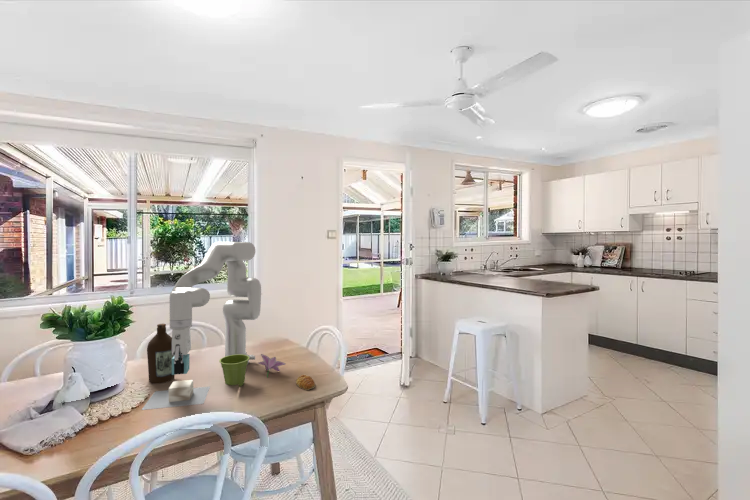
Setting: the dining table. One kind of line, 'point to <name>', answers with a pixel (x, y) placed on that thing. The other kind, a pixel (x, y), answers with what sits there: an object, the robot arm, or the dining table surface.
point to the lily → (270, 363)
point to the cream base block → (180, 390)
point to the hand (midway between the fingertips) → (180, 370)
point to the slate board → (162, 401)
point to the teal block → (185, 361)
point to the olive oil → (160, 356)
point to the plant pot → (234, 368)
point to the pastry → (305, 382)
